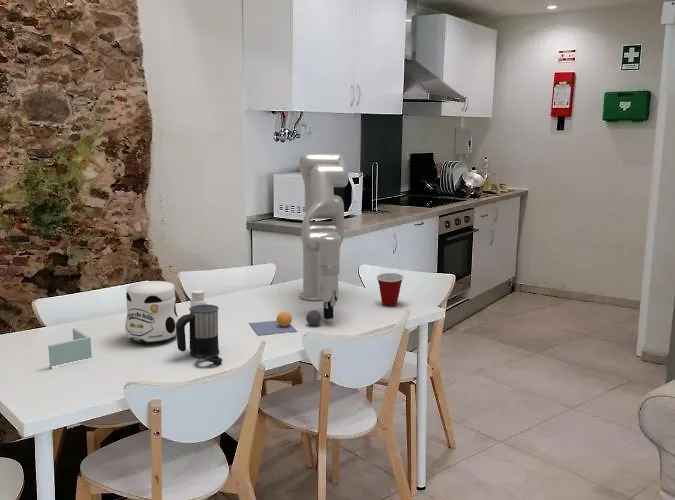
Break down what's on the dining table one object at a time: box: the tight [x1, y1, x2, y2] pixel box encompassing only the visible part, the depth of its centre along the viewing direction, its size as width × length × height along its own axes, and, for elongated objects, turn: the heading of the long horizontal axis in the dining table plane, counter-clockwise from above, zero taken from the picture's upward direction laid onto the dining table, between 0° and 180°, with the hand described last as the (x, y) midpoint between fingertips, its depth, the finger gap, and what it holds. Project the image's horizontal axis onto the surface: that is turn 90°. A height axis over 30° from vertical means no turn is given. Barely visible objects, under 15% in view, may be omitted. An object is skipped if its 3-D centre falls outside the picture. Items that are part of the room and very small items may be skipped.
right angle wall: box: [47, 327, 93, 367], centre depth 197 cm, size 12×12×8 cm
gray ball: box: [305, 309, 322, 326], centre depth 234 cm, size 5×5×5 cm
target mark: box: [248, 320, 298, 337], centre depth 231 cm, size 14×14×1 cm
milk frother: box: [176, 303, 223, 365], centre depth 200 cm, size 14×16×15 cm
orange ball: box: [276, 311, 293, 327], centre depth 232 cm, size 5×5×5 cm
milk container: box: [124, 280, 179, 344], centre depth 216 cm, size 17×17×18 cm
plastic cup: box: [376, 272, 405, 308], centre depth 260 cm, size 11×11×12 cm
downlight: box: [189, 289, 207, 308], centre depth 240 cm, size 8×7×10 cm
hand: (328, 318), depth 238 cm, fingers closed
